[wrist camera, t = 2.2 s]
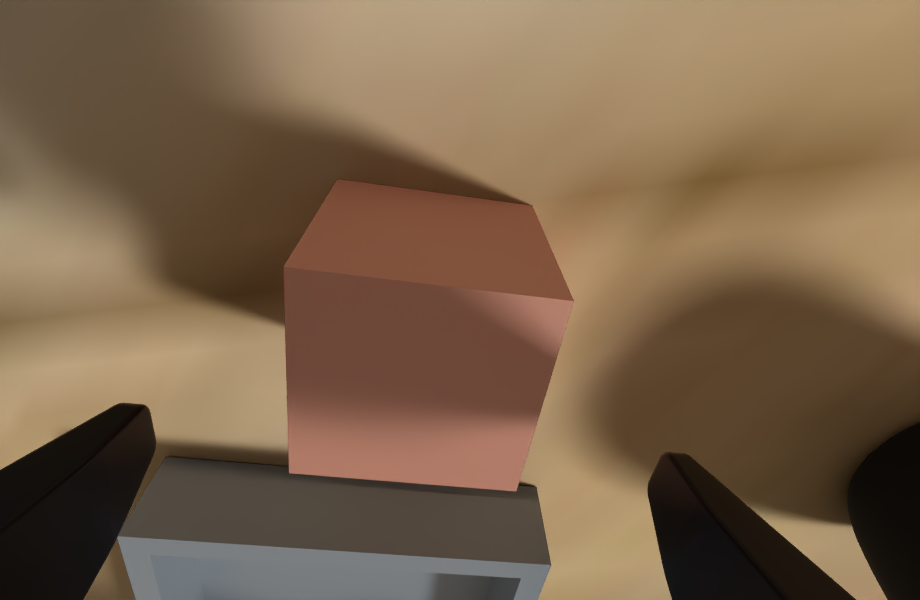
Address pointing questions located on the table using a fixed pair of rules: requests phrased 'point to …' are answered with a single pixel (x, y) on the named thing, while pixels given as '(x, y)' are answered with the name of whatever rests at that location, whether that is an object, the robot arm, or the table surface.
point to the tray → (328, 537)
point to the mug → (890, 514)
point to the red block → (419, 337)
